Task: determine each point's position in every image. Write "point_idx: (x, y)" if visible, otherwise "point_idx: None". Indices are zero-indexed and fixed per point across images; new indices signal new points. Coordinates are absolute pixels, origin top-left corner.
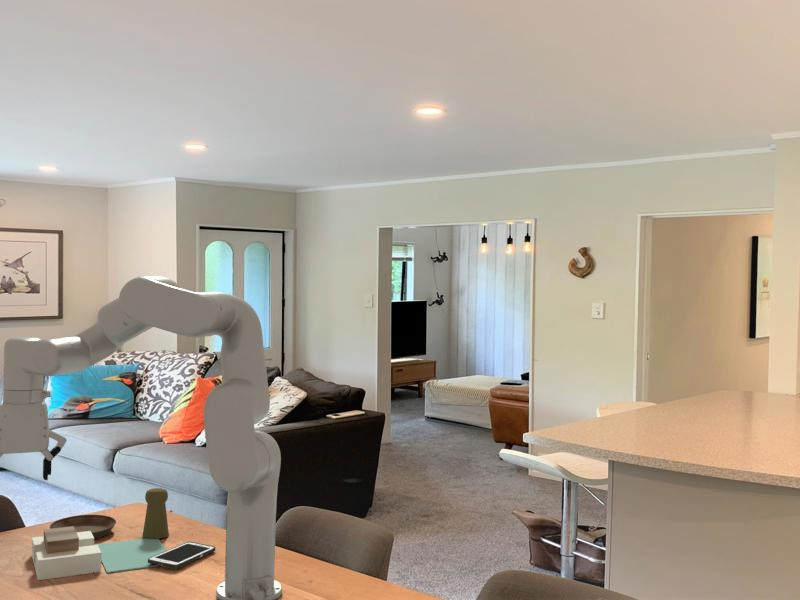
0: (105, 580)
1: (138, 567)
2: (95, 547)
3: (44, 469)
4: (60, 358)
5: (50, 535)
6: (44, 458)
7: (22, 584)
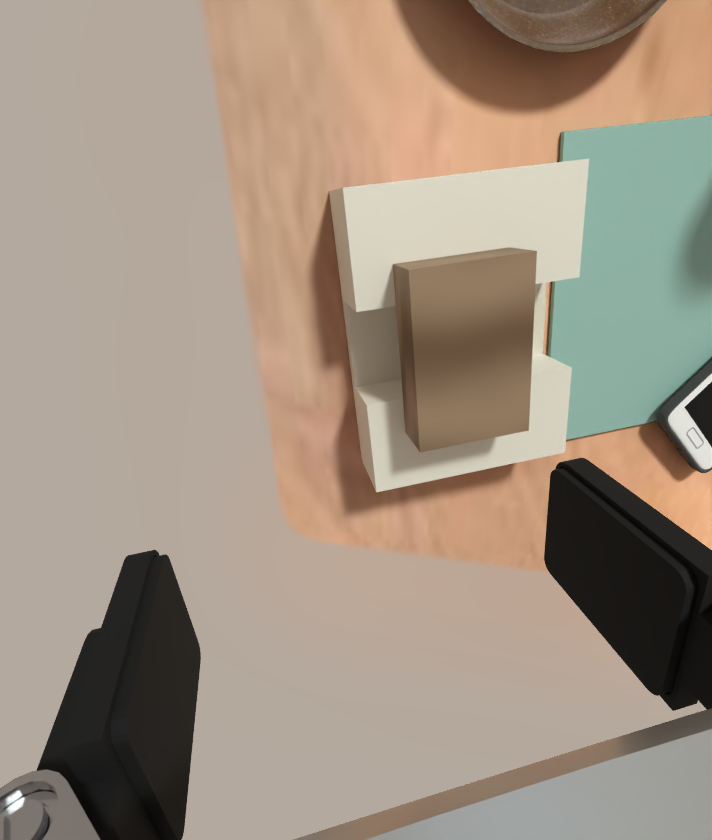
0: (528, 490)
1: (624, 427)
2: (559, 397)
3: (603, 634)
4: None
5: (433, 372)
6: (707, 585)
7: (321, 481)
